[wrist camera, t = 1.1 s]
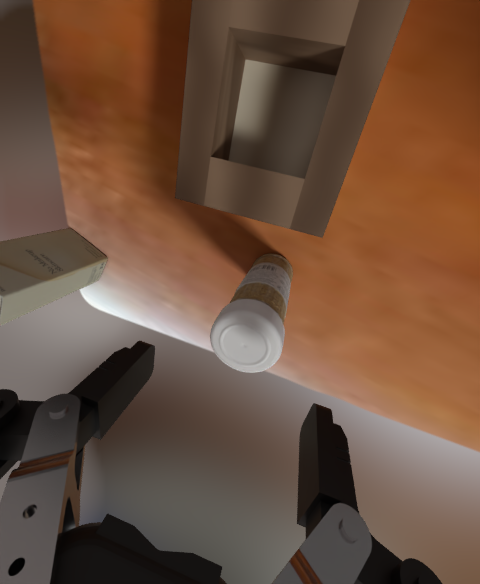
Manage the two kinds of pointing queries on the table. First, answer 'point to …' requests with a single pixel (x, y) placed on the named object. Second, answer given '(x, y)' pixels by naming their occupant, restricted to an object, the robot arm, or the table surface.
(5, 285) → the skincare box
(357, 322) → the table surface
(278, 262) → the sprinkles bottle
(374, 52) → the socket block
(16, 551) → the robot arm
